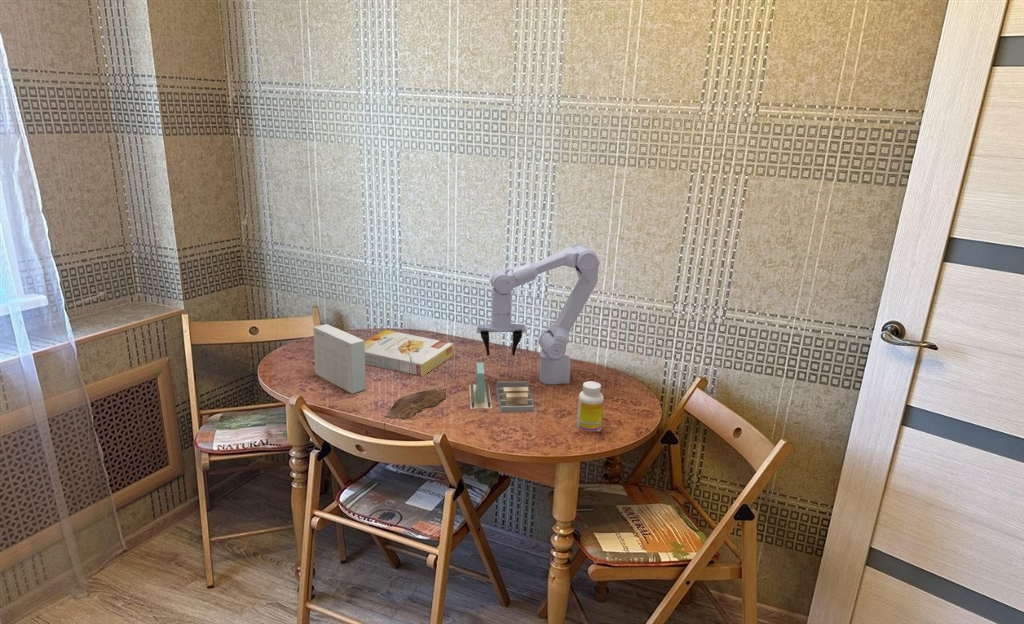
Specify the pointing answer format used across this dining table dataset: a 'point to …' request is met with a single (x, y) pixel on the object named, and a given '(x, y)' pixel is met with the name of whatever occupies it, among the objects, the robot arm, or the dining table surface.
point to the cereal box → (406, 352)
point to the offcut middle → (514, 390)
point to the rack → (503, 402)
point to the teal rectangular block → (480, 382)
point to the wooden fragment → (415, 403)
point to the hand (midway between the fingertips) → (500, 354)
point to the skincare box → (339, 358)
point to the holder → (473, 397)
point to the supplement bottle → (590, 407)
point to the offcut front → (516, 399)
